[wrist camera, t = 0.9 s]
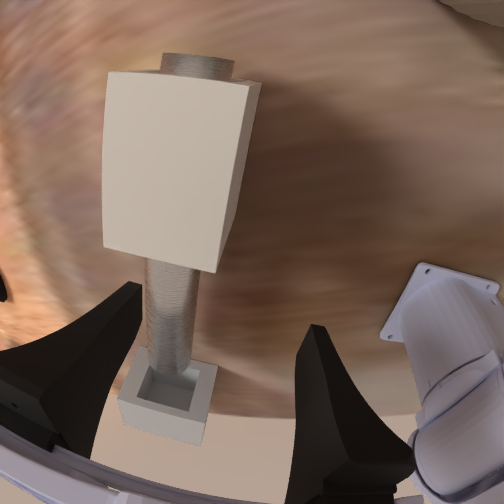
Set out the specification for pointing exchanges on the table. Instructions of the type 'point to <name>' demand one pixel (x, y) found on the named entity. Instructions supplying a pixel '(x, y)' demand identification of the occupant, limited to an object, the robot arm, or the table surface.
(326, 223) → the table surface
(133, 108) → the sleeve
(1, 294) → the remote control
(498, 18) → the canister
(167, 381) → the socket
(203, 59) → the tube
